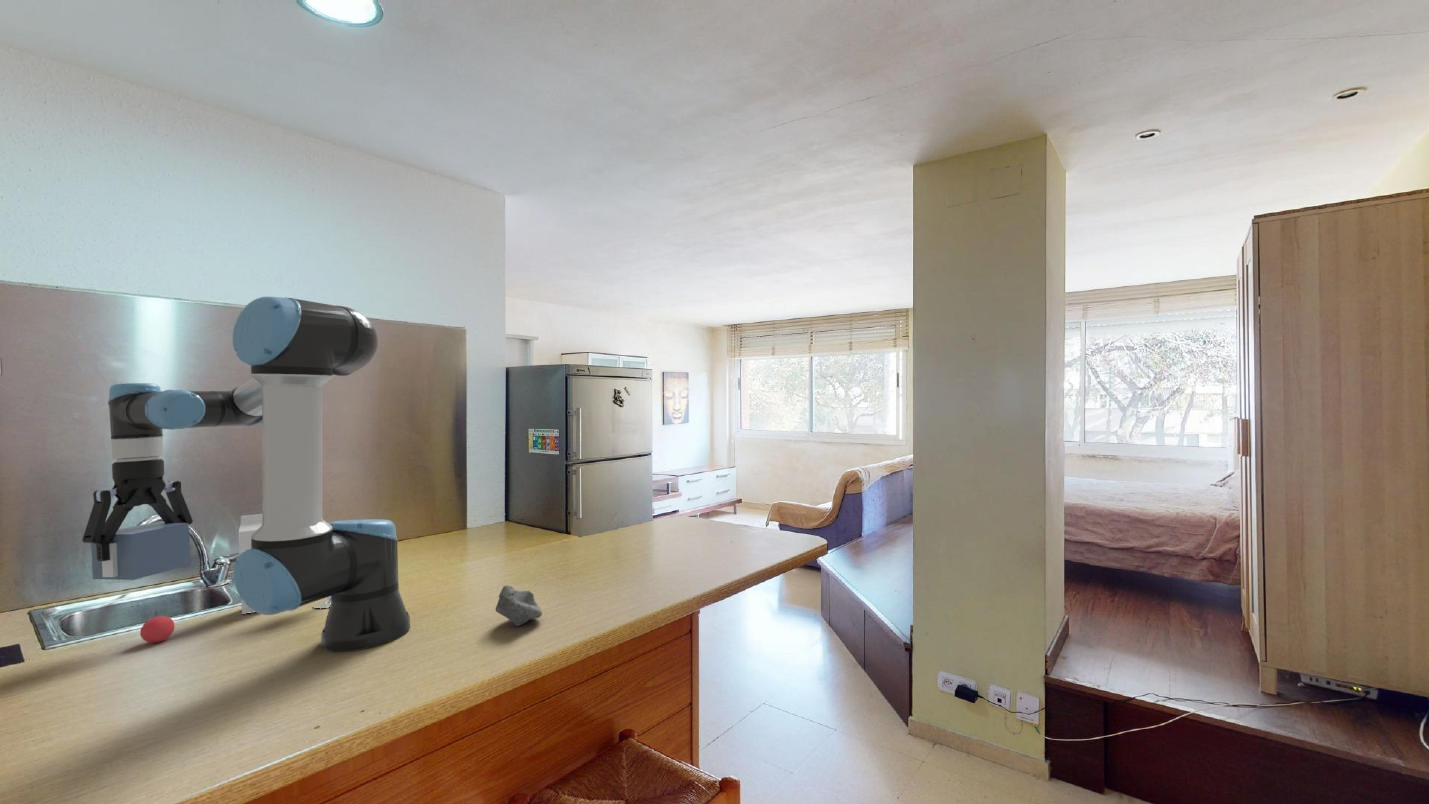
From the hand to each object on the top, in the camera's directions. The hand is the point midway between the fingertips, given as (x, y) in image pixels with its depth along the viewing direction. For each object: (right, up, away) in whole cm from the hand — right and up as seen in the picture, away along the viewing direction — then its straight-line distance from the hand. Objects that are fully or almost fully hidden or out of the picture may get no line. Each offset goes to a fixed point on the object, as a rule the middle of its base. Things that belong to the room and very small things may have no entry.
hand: (143, 568), depth 118 cm
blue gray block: (0, -1, 0) cm, 1 cm away
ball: (+4, -12, -1) cm, 13 cm away
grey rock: (+76, -12, +1) cm, 77 cm away
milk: (+10, -14, +17) cm, 25 cm away
